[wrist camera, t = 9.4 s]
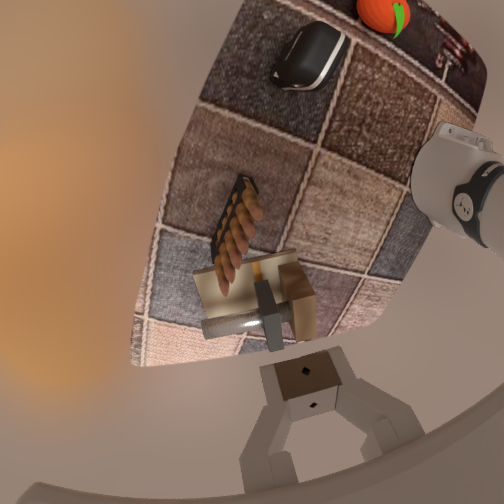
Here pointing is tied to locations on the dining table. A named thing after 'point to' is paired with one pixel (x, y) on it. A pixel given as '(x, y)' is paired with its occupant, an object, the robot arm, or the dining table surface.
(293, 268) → the pipe stand
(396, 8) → the clementine
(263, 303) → the collar
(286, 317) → the steel pipe
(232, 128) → the dining table surface
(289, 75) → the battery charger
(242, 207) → the ammunition clip
